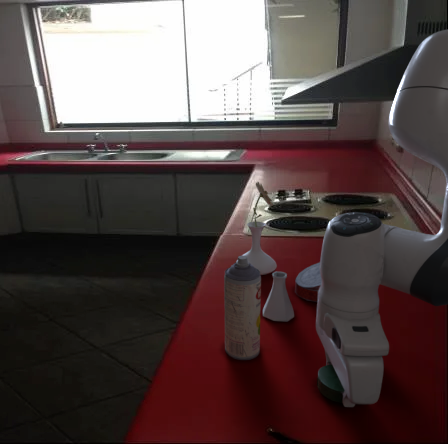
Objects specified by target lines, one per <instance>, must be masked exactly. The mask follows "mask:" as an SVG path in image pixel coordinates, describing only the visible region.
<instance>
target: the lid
mask: <svg viewBox="0 0 448 444" xmlns="http://www.w3.org/2000/svg"><path fill="white" fill-rule="evenodd" d="M316 378H317V379H316V386H317V389H318V391H319V392H320V394H321V395H322V396H323V397H325V398H326V399H328V400H330V401H333V402H336V403H339V404H343V403H342V401H341V392H344V391H345V390H344V388H343V386H342V384H341V382H340V380H339V378H338V376H337V373H336V371H335V369H334V367H333V365H332V364H331V365H326V364H325V365H323V366H322V367H320V368H319V369H318V371H317V377H316Z"/></svg>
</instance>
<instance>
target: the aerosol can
mask: <svg viewBox="0 0 448 444" xmlns="http://www.w3.org/2000/svg"><path fill="white" fill-rule="evenodd" d="M237 260H238V261H237ZM237 260H236V261H237V262H236V261H235V262H234V263H233V264H231V265H230V266H229V267H227V268H226V269H225V270H224V277H223V281H224V282H223V283H224V284H223V285H224V286H223V292H224V297H223V299H224V351H225V354H226V355H228V357H230V358H232V359H234V360H237V361H251V360H253V359H255V358H257V357H258V356H259V355H260V353H261V352H260V350H261V348H260V347H261V305H262V304H261V303H262V301H261V299H262V297H261V296H262V275H260V271H259V270H258V269H256V268H255V267H254V266H253V265H251V264H250V263H249V262H248V261H247V256H242V255H238V257H237Z"/></svg>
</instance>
